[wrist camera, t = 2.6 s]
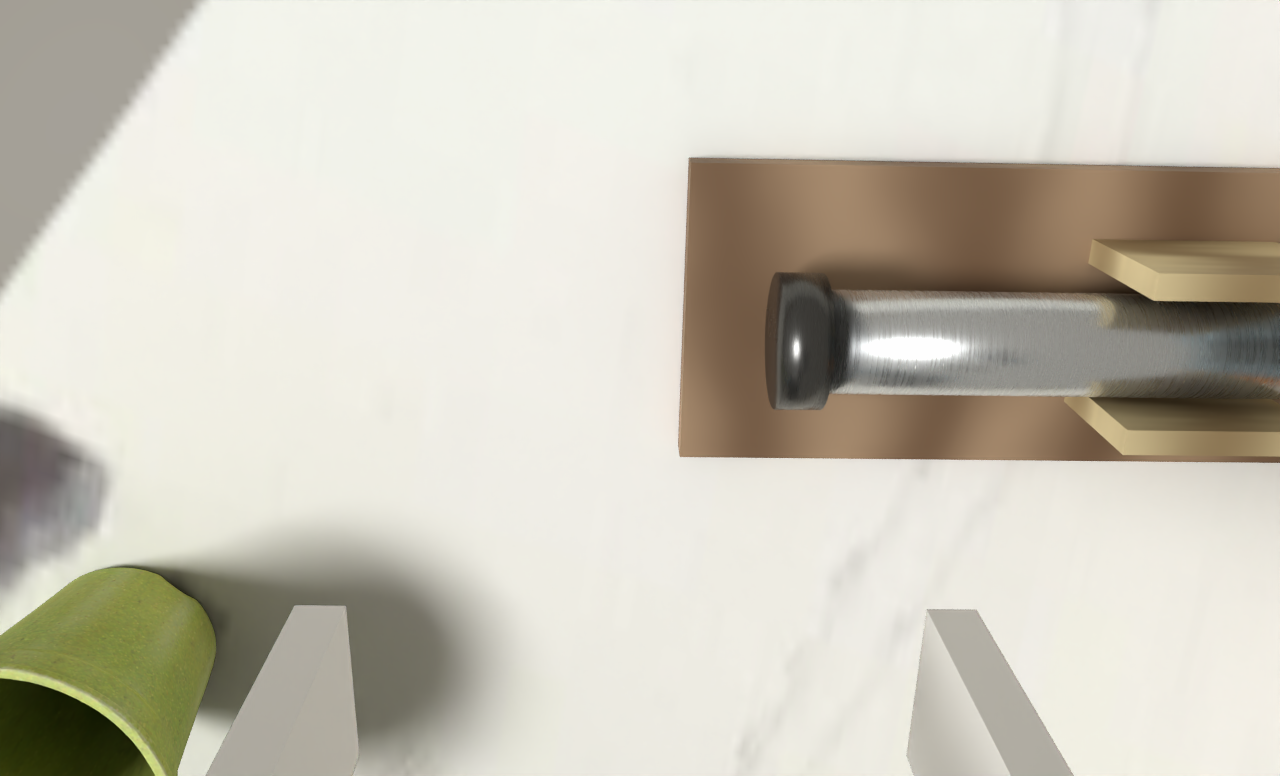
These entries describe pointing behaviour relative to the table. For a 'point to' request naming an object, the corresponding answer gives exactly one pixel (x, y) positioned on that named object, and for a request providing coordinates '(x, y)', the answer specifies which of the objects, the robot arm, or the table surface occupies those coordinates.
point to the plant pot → (104, 678)
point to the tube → (1011, 344)
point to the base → (967, 261)
